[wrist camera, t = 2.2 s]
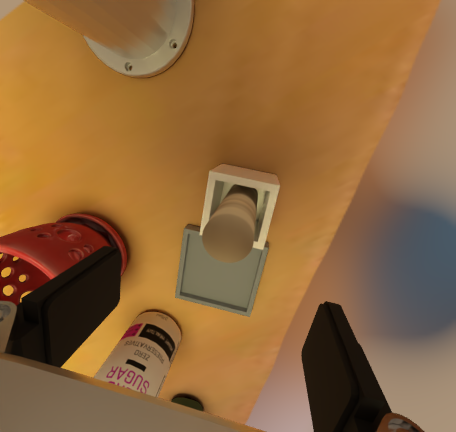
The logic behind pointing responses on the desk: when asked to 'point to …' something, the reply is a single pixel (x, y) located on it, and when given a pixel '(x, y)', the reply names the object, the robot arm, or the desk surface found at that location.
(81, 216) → the plant pot
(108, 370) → the supplement can
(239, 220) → the dowel
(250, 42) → the desk surface
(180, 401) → the character mug
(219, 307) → the tray
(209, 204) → the white open square box
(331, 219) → the desk surface
